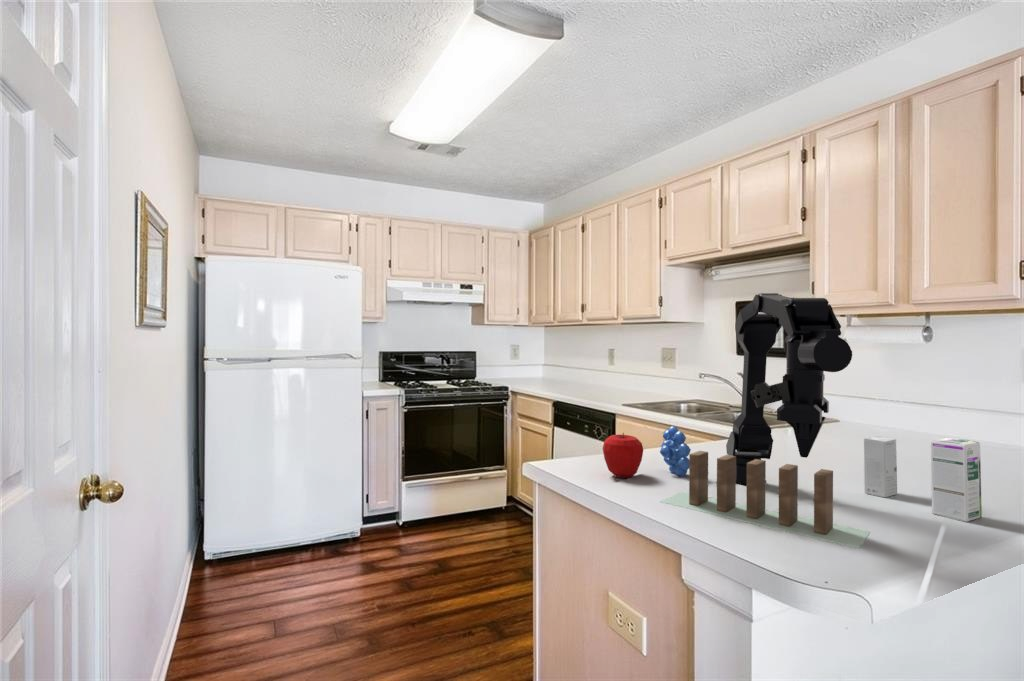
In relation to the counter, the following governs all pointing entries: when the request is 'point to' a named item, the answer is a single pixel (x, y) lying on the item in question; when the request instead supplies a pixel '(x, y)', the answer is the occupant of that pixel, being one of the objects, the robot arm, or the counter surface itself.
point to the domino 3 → (756, 488)
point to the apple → (623, 455)
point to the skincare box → (880, 466)
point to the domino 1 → (698, 478)
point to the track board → (775, 521)
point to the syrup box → (956, 479)
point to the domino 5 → (823, 501)
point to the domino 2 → (726, 483)
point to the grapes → (675, 451)
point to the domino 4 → (788, 495)
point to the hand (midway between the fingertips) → (804, 456)
